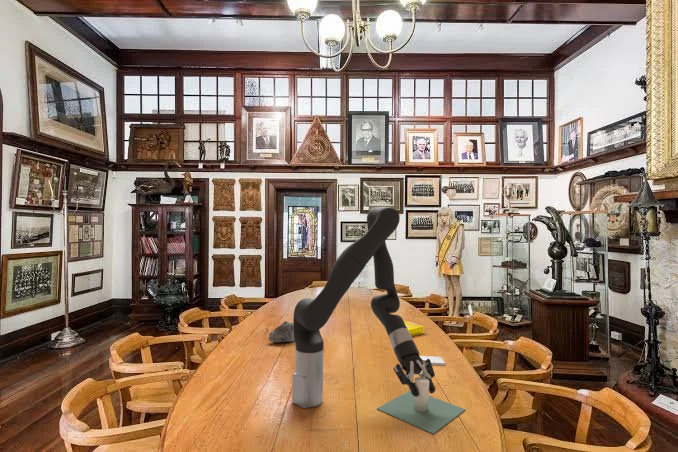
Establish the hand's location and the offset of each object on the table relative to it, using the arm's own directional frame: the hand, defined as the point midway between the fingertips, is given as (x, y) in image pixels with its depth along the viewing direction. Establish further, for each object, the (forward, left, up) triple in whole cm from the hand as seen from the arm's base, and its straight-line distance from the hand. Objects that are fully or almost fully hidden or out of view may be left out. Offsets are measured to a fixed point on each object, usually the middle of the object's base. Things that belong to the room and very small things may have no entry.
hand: (425, 393), depth 117 cm
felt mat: (+1, +2, -6) cm, 6 cm away
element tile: (+72, +55, -6) cm, 91 cm away
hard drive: (+41, +23, -7) cm, 47 cm away
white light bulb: (+1, +2, -5) cm, 6 cm away
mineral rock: (+12, +87, -6) cm, 88 cm away
